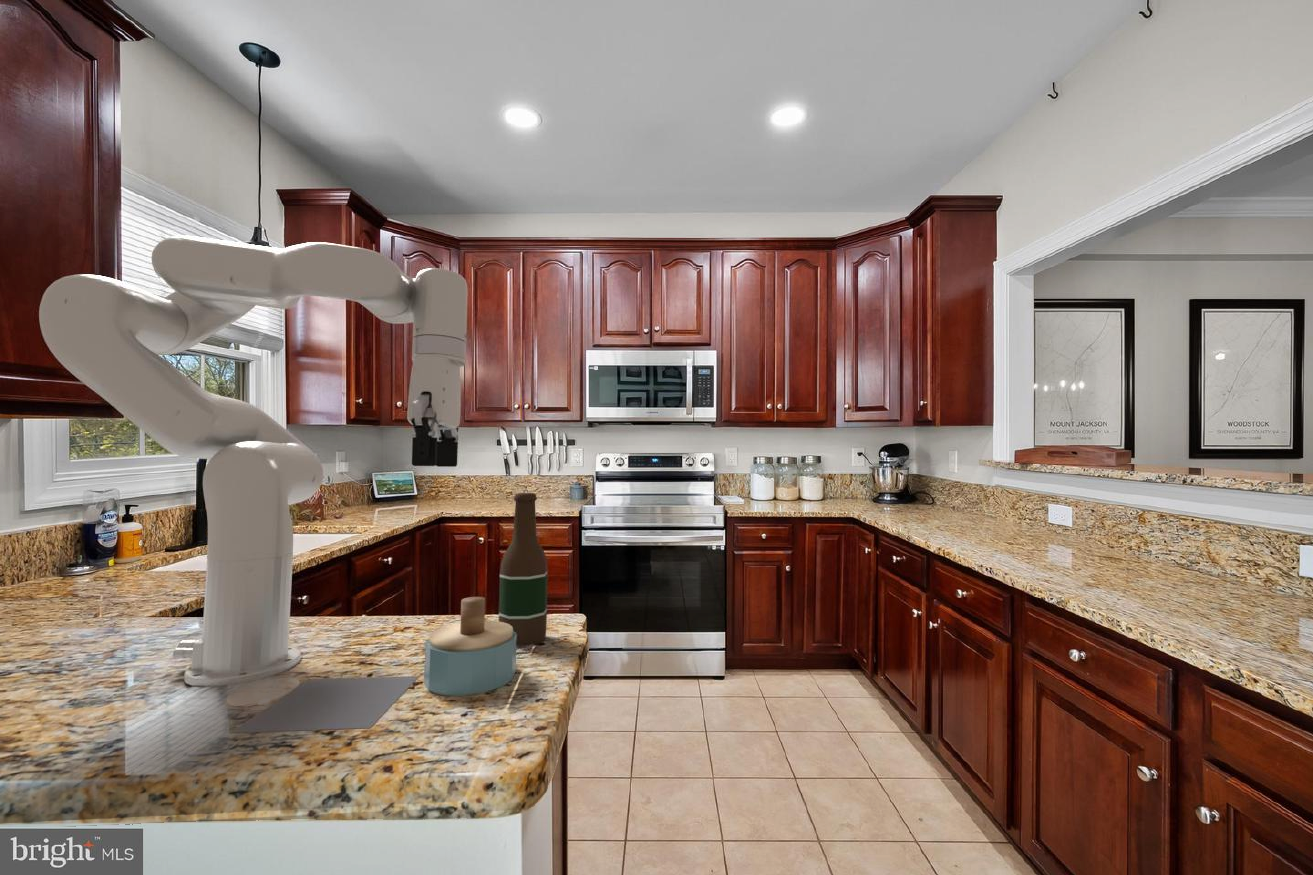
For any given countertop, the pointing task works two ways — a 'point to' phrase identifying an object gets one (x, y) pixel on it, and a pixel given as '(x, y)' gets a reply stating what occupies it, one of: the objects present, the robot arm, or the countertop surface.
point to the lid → (471, 630)
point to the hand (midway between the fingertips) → (435, 466)
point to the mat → (330, 705)
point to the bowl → (469, 669)
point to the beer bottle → (524, 577)
